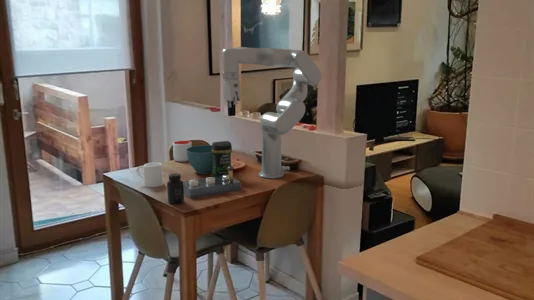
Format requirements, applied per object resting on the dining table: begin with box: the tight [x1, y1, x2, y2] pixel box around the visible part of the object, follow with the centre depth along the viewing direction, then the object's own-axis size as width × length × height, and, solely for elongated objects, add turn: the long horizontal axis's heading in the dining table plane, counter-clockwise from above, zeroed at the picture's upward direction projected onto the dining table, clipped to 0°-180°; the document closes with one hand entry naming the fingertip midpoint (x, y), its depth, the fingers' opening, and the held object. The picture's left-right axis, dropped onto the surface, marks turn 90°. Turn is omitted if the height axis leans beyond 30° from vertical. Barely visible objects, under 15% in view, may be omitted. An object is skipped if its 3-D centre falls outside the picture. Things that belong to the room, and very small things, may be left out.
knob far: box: [188, 179, 198, 187], centre depth 233 cm, size 4×4×5 cm
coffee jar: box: [211, 140, 233, 177], centre depth 253 cm, size 10×8×19 cm
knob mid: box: [206, 176, 215, 184], centre depth 236 cm, size 4×4×5 cm
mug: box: [136, 162, 163, 188], centre depth 245 cm, size 8×12×10 cm, turn 82°
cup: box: [172, 140, 192, 163], centre depth 290 cm, size 10×10×10 cm
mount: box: [183, 175, 242, 199], centre depth 236 cm, size 24×13×6 cm, turn 118°
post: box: [228, 165, 234, 183], centre depth 235 cm, size 3×3×7 cm
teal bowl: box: [186, 144, 213, 175], centre depth 266 cm, size 18×18×12 cm
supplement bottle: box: [166, 172, 185, 205], centre depth 220 cm, size 7×7×12 cm
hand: (231, 115), depth 242 cm, fingers closed
